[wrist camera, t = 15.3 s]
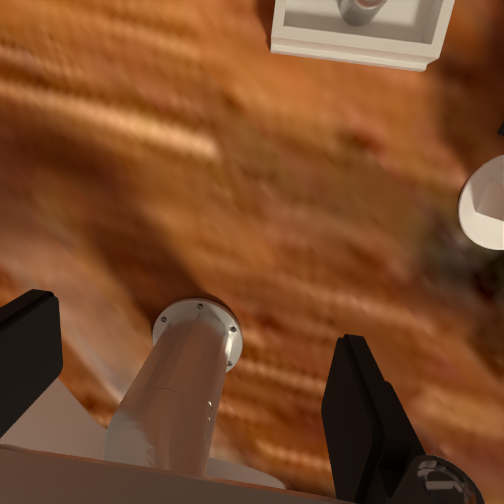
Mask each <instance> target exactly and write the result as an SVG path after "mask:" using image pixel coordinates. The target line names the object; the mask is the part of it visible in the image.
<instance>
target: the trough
mask: <svg viewBox="0 0 504 504" xmlns="http://www.w3.org/2000/svg"><path fill="white" fill-rule="evenodd" d="M454 1H455V0H388V1H387V2H386V3H385V5H384V6H383V7H382V8H381V10H380V11H379V12H378V13H377V15H376V16H375V17H374V18H373V20H371V21H370V22H369V23H367V24H366V25H363V26H352V25H349V24H348V23H346V22H345V21H344V20H343V18H342V16H341V14H340V11H339V0H276V2H275V10H274V18H273V26H272V34H271V53H277V54H285V55H293V56H301V57H309V58H316V59H324V60H332V61H340V62H348V63H355V64H363V65H371V66H379V67H387V68H395V69H402V70H410V71H418V72H422V71H424V70H426V67H427V64H429V63H431V62H432V61H434V60H436V59H438V58H439V56H440V53H441V49H442V45H443V42H444V38H445V34H446V31H447V27H448V23H449V20H450V16H451V12H452V8H453V5H454Z"/></svg>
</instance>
